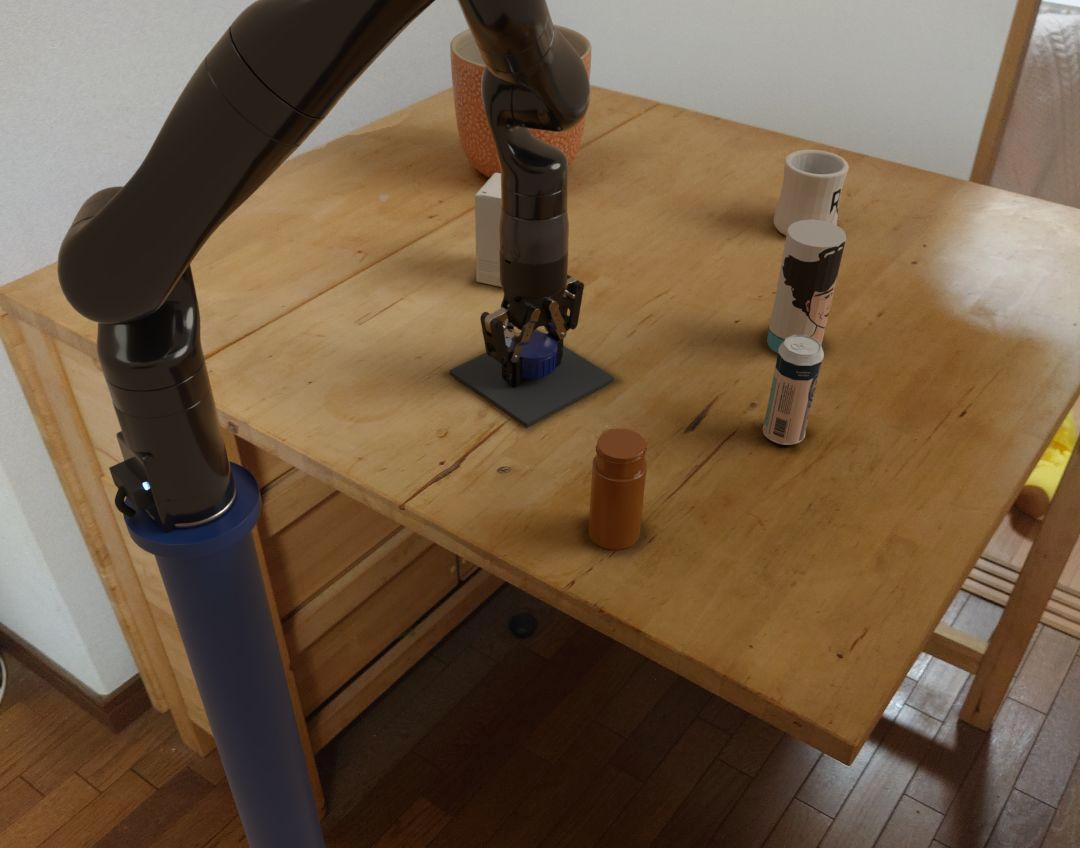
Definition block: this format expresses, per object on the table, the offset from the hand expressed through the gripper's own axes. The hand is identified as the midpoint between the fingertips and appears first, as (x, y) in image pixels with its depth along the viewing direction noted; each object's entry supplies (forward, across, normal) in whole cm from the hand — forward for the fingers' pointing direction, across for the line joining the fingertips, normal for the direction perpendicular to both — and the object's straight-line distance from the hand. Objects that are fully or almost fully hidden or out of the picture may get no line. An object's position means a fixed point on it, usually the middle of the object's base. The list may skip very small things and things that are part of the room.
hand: (532, 373), depth 127 cm
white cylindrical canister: (+1, -30, +16) cm, 34 cm away
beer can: (+1, -14, +27) cm, 30 cm away
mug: (+1, -57, -3) cm, 57 cm away
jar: (+1, +12, +26) cm, 28 cm away
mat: (+1, 0, 0) cm, 1 cm away
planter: (+1, -37, -44) cm, 58 cm away
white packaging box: (+1, -14, -20) cm, 25 cm away
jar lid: (-4, 0, 0) cm, 4 cm away
